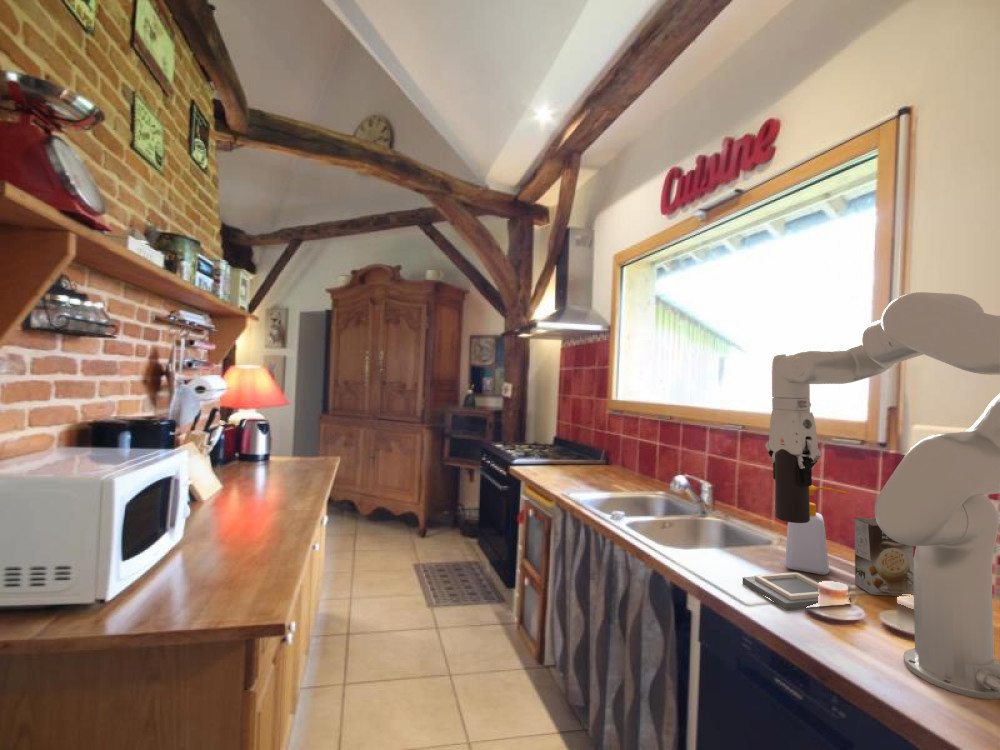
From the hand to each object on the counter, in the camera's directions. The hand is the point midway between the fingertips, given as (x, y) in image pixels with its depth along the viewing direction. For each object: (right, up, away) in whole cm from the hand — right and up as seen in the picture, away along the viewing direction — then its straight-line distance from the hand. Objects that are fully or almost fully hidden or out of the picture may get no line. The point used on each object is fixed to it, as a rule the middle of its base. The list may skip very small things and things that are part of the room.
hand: (791, 481), depth 111 cm
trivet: (0, -26, -1) cm, 26 cm away
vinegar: (0, -9, 0) cm, 9 cm away
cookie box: (+22, -26, +1) cm, 34 cm away
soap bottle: (+15, -26, +14) cm, 33 cm away
